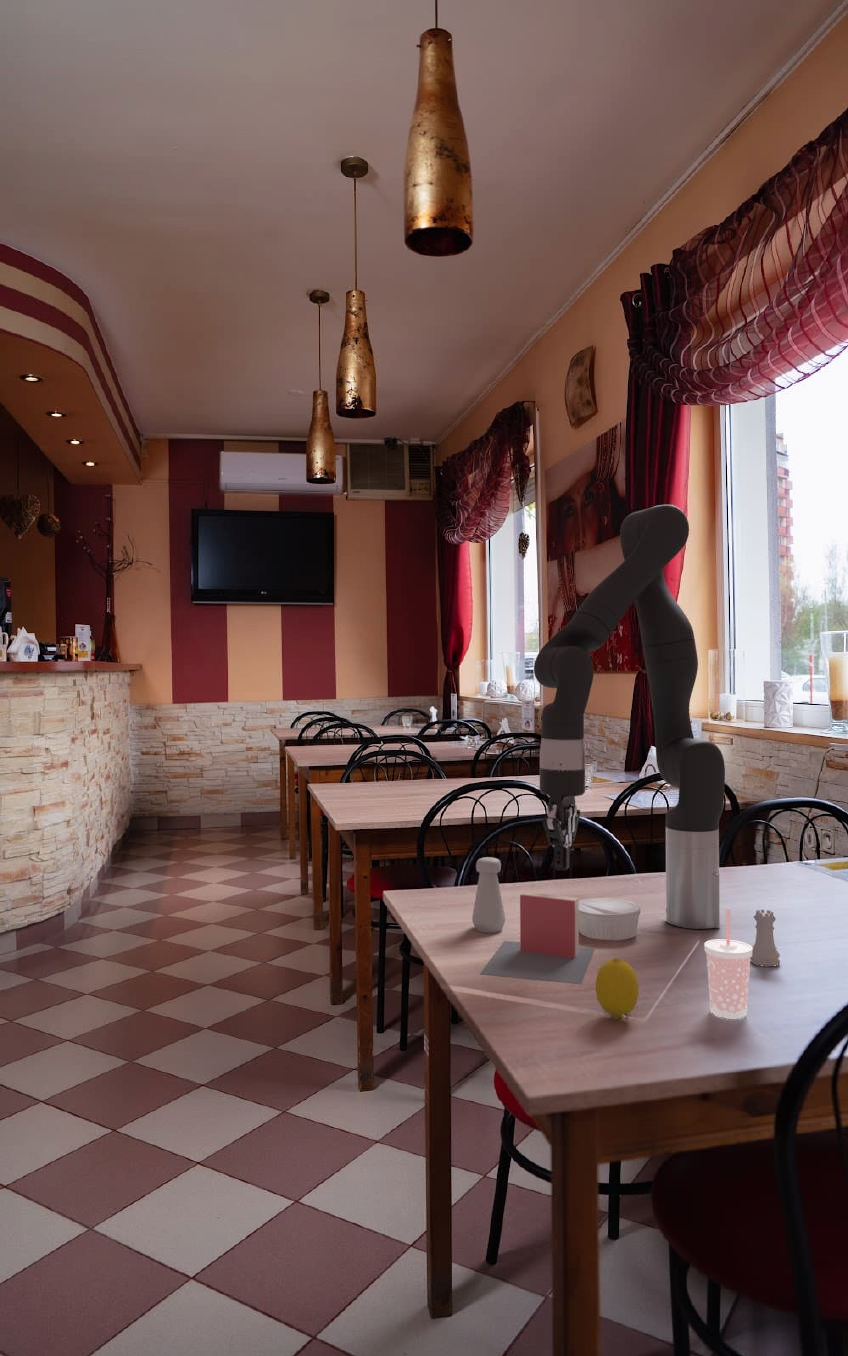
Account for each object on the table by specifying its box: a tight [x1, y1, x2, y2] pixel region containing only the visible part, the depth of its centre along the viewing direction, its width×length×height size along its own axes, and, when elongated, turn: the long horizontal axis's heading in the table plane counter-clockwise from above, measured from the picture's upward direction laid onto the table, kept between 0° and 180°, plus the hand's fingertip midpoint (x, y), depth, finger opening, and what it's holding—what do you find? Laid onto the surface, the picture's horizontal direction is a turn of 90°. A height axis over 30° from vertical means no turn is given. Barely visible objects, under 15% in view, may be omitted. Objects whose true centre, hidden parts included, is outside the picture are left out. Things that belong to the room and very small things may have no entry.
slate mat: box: [479, 940, 595, 985], centre depth 139 cm, size 15×17×1 cm
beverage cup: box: [703, 907, 754, 1019], centre depth 118 cm, size 6×6×14 cm
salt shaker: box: [471, 856, 506, 934], centre depth 156 cm, size 6×6×13 cm
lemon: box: [595, 957, 640, 1020], centre depth 117 cm, size 6×6×8 cm
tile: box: [519, 891, 580, 959], centre depth 142 cm, size 2×9×9 cm, turn 63°
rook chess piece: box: [750, 909, 781, 967], centre depth 139 cm, size 4×4×8 cm
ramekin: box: [579, 897, 641, 941], centre depth 154 cm, size 11×11×5 cm
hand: (561, 869), depth 149 cm, fingers closed
